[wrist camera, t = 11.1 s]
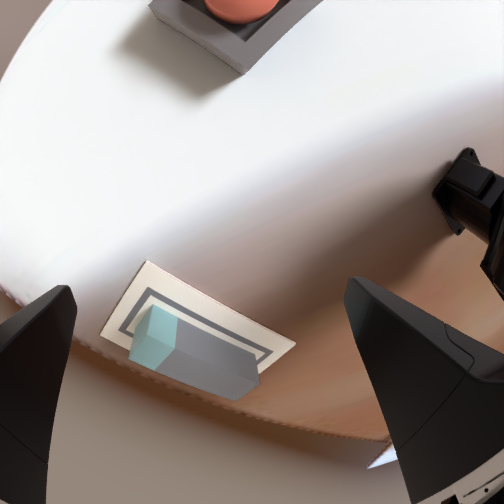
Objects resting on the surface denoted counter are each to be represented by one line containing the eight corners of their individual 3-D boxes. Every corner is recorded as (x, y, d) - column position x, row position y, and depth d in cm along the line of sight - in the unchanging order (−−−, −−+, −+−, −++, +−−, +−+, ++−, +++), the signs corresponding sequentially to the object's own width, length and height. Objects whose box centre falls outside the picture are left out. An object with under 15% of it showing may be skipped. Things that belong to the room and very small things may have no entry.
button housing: (312, 8, 14) (328, -5, 11) (242, 75, 16) (248, 70, 13) (230, -47, 11) (233, -68, 8) (157, 18, 13) (148, 5, 10)
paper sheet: (295, 342, 28) (295, 344, 27) (232, 391, 31) (233, 393, 30) (146, 259, 21) (146, 262, 21) (100, 332, 24) (99, 335, 24)
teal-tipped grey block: (254, 354, 27) (260, 383, 24) (232, 372, 28) (235, 401, 25) (153, 304, 23) (147, 335, 20) (135, 328, 24) (128, 358, 21)
